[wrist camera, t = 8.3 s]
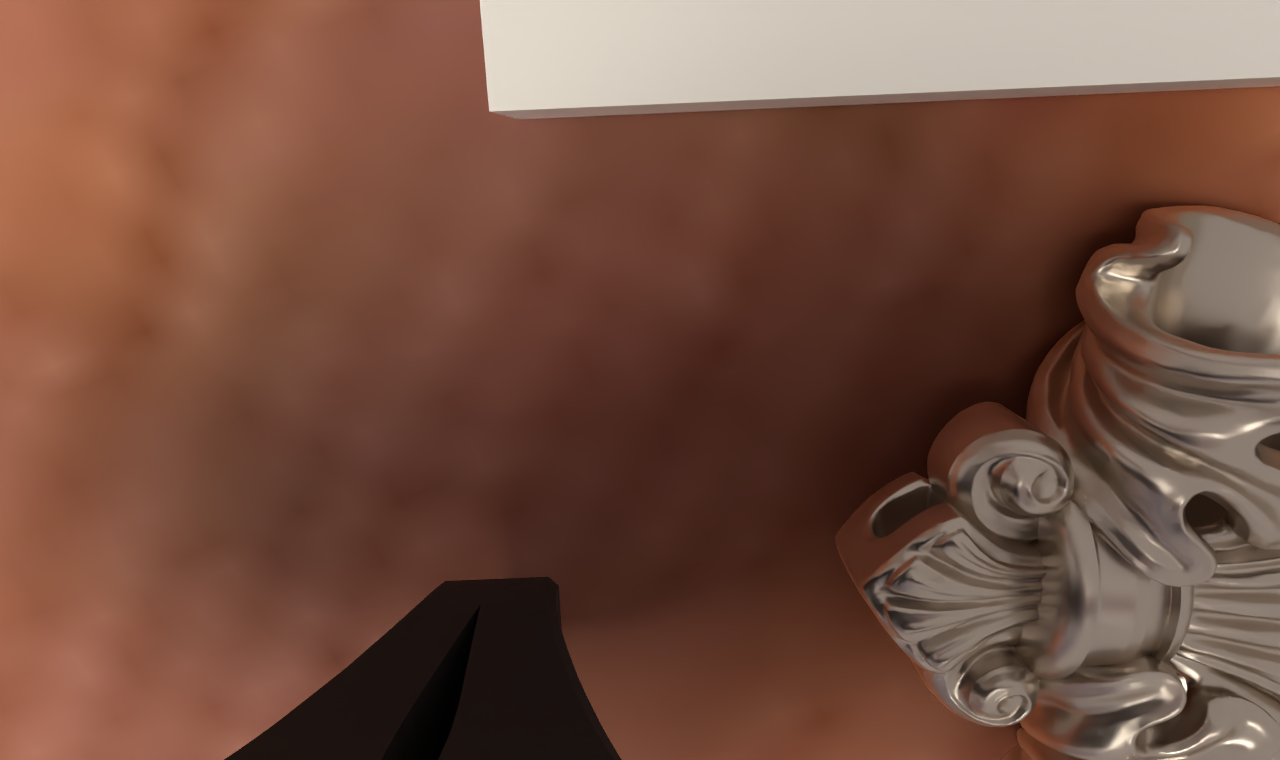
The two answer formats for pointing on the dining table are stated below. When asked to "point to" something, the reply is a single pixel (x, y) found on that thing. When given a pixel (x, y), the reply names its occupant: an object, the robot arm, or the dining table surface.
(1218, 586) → the ornament
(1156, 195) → the dining table surface
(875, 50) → the u-shaped frame
